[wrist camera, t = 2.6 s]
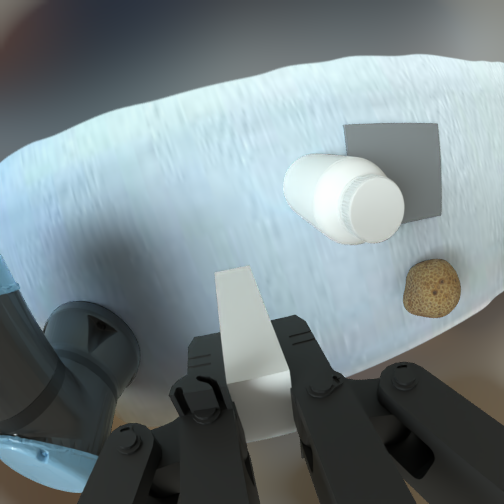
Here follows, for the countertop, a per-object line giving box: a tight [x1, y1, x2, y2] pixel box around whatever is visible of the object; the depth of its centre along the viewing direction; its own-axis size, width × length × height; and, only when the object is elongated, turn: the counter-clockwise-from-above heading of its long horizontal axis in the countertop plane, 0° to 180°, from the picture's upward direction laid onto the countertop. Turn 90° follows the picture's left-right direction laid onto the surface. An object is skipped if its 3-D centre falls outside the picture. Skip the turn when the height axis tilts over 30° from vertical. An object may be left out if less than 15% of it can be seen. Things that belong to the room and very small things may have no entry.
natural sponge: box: [403, 259, 461, 318], centre depth 38 cm, size 9×9×10 cm
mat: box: [343, 123, 441, 224], centre depth 36 cm, size 16×14×1 cm
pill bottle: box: [283, 154, 404, 245], centre depth 28 cm, size 8×8×15 cm
